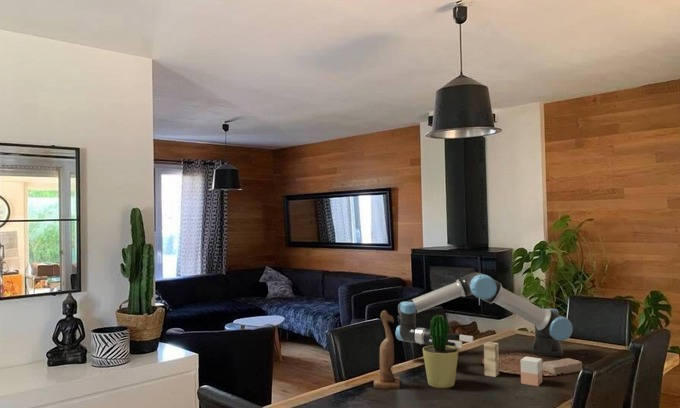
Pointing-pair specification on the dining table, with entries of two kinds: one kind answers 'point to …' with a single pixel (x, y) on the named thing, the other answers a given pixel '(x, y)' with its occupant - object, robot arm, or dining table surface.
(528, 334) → the dining table surface
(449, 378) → the potted cactus
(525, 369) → the tower top
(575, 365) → the brick
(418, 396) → the dining table surface
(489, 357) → the oak pillar
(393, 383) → the bird sculpture
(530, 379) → the tower base
